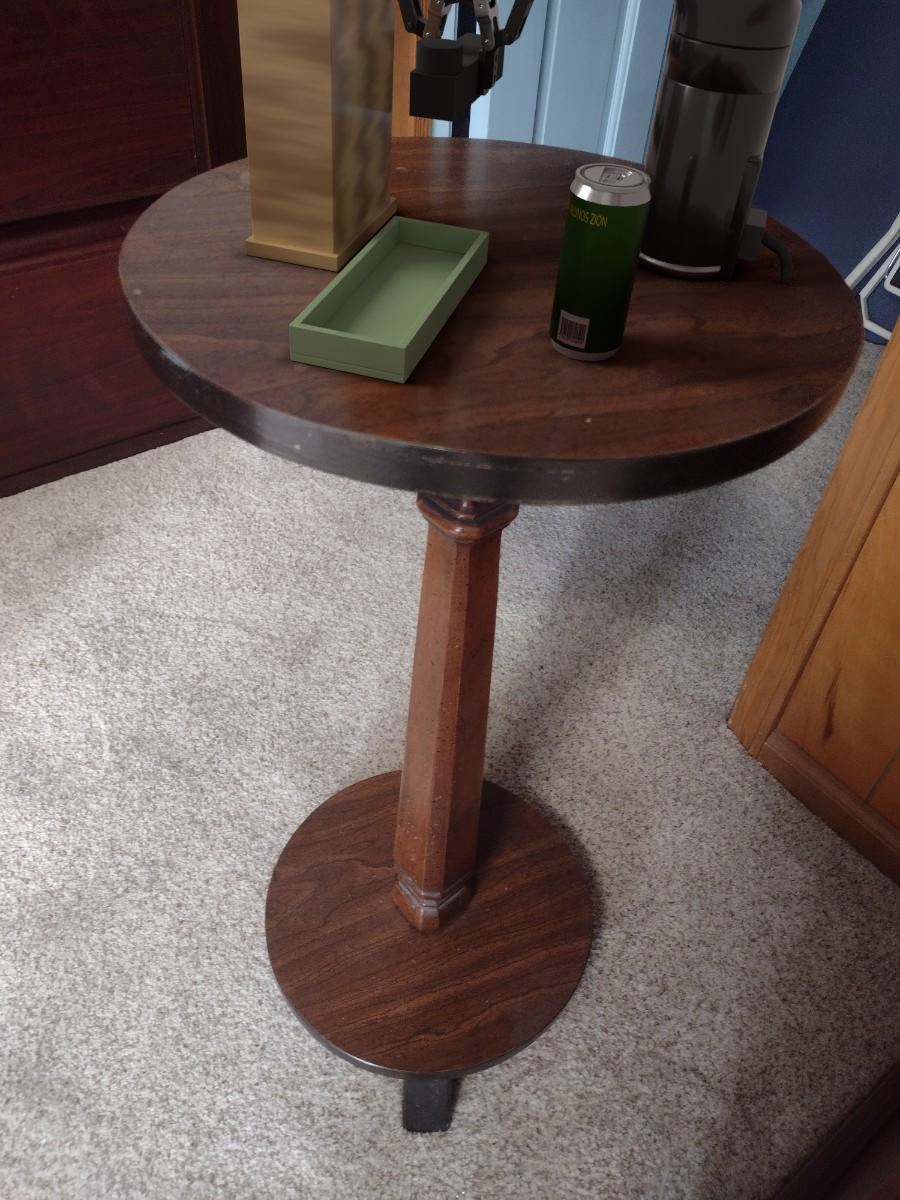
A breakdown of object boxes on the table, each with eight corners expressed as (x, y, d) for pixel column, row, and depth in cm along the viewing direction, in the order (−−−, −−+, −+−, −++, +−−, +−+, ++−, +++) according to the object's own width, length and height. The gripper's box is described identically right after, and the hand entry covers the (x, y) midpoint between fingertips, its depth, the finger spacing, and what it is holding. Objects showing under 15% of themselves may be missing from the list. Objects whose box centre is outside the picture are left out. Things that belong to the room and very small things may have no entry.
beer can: (608, 370, 68) (642, 196, 60) (537, 351, 70) (561, 179, 62) (628, 339, 72) (663, 172, 64) (560, 322, 74) (586, 157, 66)
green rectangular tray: (394, 246, 83) (394, 215, 81) (486, 262, 81) (489, 232, 79) (290, 360, 66) (288, 325, 65) (404, 384, 65) (405, 348, 63)
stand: (315, 196, 90) (305, -226, 70) (396, 211, 89) (410, -216, 69) (245, 254, 79) (210, -227, 59) (337, 272, 78) (332, -215, 58)
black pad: (464, 71, 98) (467, 9, 94) (502, 76, 97) (507, 13, 94) (408, 116, 85) (410, 45, 81) (452, 122, 84) (456, 50, 80)
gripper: (374, -144, 78) (374, 90, 89) (546, -129, 75) (524, 110, 87) (403, -149, 84) (400, 72, 95) (565, -135, 81) (541, 91, 92)
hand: (459, 89), depth 91 cm, fingers closed on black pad, 4 cm apart
